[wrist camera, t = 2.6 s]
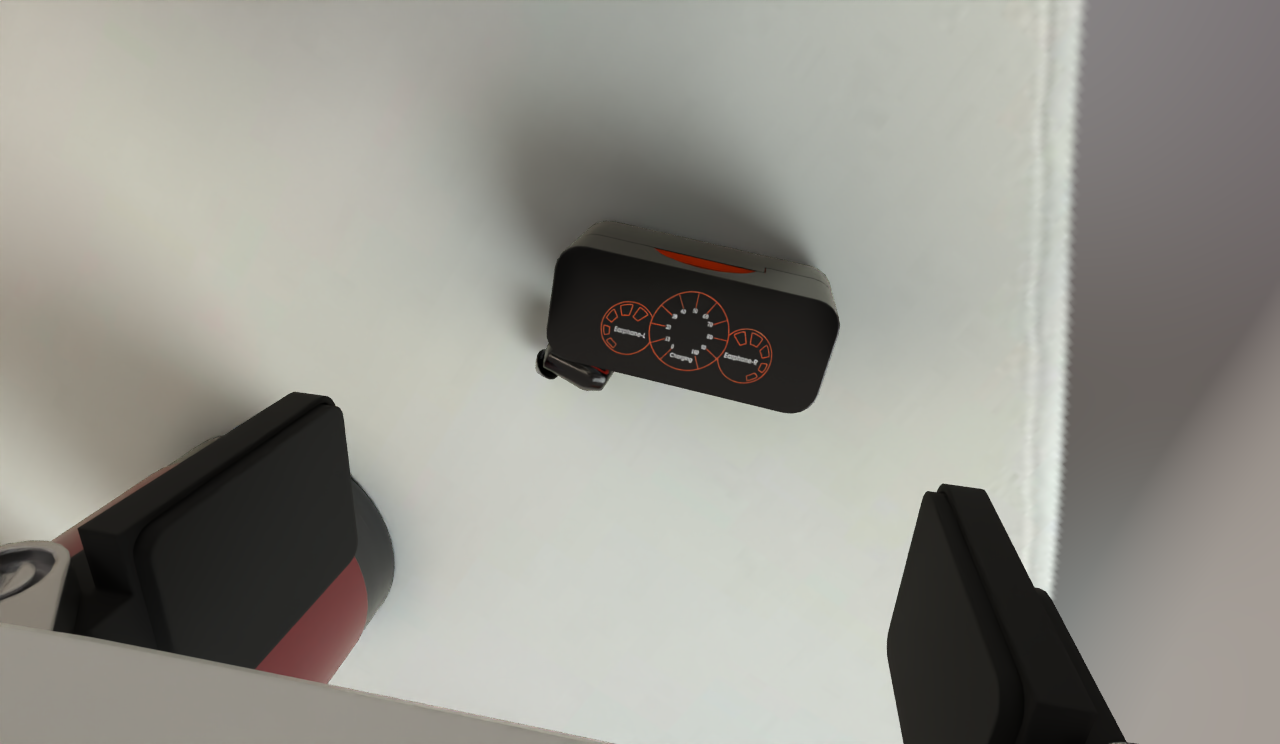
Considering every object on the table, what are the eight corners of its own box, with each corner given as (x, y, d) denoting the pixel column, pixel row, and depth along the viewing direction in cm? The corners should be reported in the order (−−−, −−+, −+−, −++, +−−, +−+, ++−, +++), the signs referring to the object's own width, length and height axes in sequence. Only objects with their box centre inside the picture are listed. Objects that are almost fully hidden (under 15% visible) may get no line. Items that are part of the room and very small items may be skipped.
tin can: (147, 414, 23) (-183, 600, 15) (384, 448, 22) (164, 668, 14) (199, 609, 27) (-47, 844, 19) (406, 647, 26) (240, 914, 18)
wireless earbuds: (563, 204, 18) (523, 231, 15) (835, 266, 18) (847, 306, 15) (541, 363, 20) (502, 414, 17) (785, 423, 20) (787, 486, 17)
